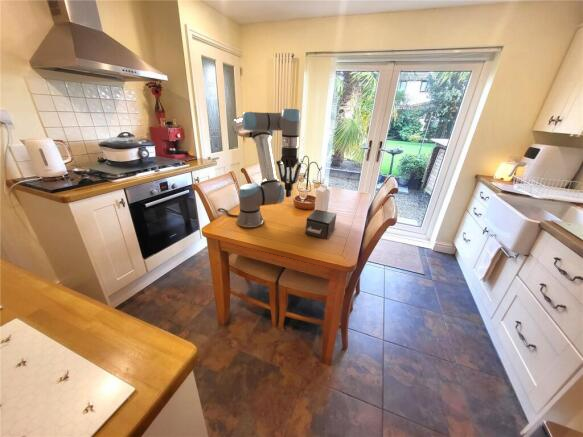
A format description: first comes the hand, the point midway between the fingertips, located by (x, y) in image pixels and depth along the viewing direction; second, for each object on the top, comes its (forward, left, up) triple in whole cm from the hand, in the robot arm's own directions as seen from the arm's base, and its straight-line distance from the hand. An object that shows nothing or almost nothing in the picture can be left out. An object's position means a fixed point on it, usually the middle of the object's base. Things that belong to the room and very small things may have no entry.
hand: (288, 196), depth 115 cm
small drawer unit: (+2, +22, -24) cm, 33 cm away
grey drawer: (+4, +18, -24) cm, 30 cm away
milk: (-12, +34, -25) cm, 44 cm away
